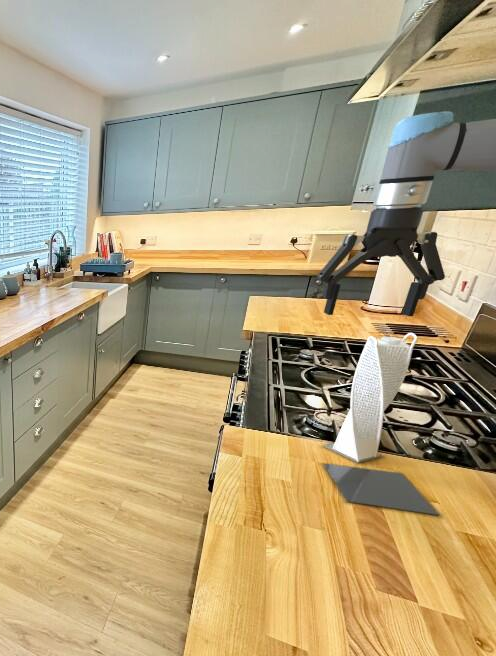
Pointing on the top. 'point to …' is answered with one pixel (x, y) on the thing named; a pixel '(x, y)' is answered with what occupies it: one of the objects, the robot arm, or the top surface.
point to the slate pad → (378, 489)
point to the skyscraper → (372, 396)
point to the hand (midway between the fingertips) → (366, 314)
